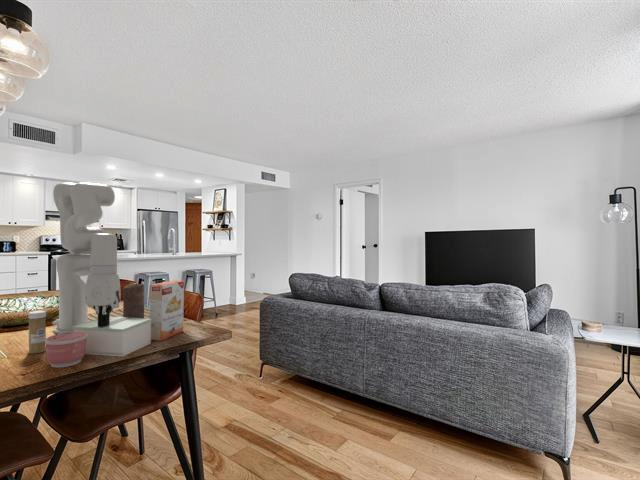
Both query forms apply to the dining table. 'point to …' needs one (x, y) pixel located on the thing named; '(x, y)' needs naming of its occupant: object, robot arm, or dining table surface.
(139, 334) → the box
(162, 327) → the cracker box
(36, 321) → the sprinkles bottle
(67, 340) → the container
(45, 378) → the dining table surface
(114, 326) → the lid
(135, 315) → the candle
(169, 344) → the dining table surface
